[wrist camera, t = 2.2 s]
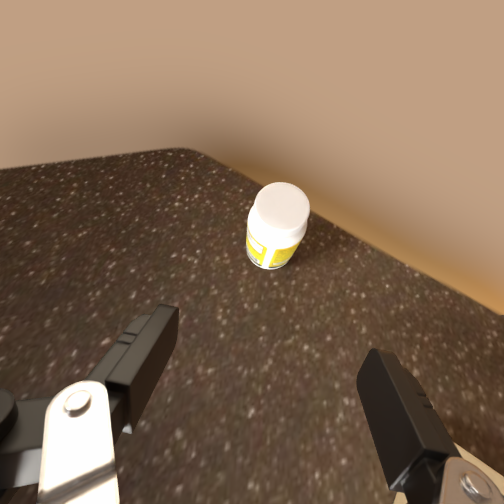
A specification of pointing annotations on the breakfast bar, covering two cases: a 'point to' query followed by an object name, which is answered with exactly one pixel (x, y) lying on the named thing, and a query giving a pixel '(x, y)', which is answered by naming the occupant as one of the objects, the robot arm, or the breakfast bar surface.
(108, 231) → the breakfast bar surface
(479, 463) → the knob base panel
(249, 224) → the supplement bottle
